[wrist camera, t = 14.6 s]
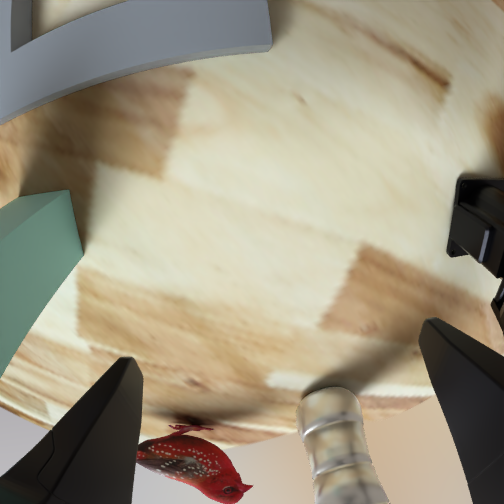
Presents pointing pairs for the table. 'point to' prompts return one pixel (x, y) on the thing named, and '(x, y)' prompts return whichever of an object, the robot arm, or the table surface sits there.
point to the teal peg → (33, 261)
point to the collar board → (118, 44)
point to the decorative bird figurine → (193, 464)
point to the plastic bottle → (338, 448)
